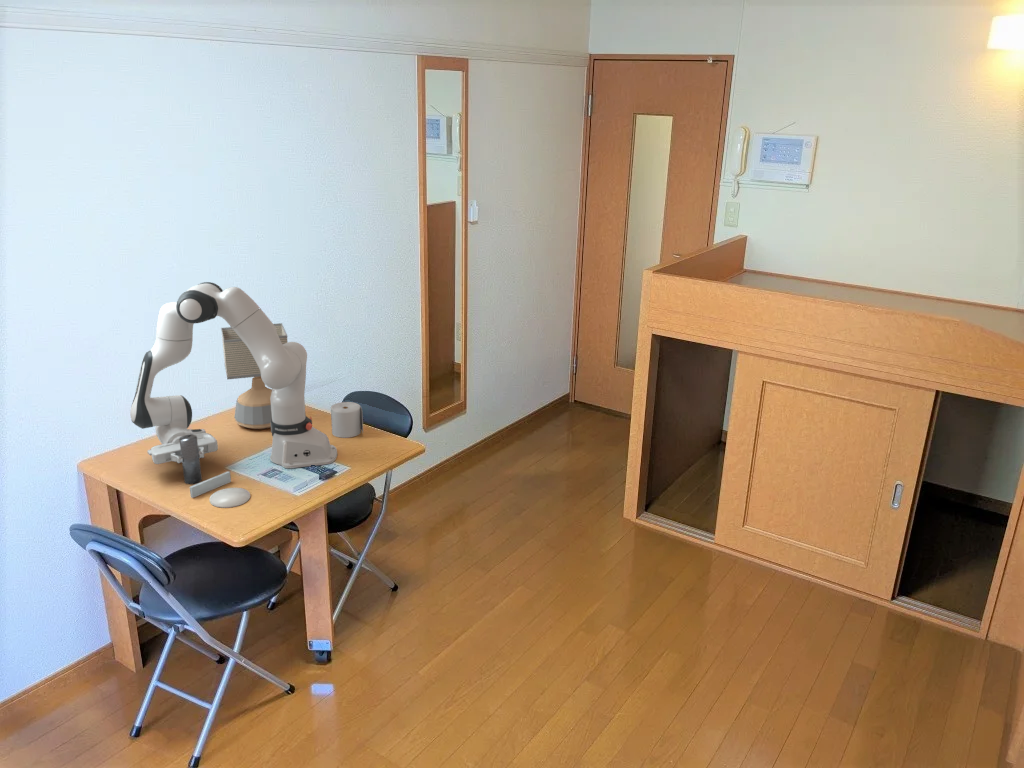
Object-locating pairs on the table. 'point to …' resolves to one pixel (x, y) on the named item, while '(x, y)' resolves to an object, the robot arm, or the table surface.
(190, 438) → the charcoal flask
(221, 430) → the table surface
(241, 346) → the desk lamp
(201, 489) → the acrylic wall
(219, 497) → the resting pad
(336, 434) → the toilet tissue
